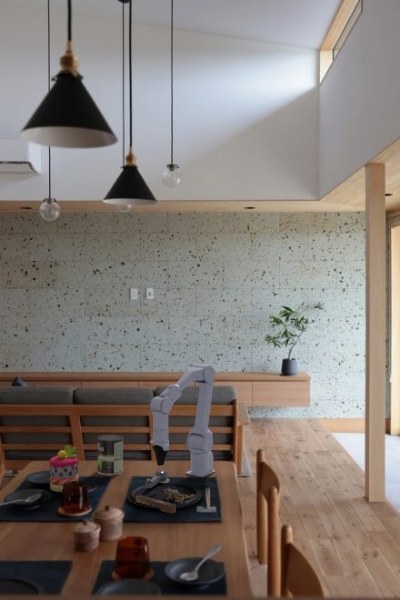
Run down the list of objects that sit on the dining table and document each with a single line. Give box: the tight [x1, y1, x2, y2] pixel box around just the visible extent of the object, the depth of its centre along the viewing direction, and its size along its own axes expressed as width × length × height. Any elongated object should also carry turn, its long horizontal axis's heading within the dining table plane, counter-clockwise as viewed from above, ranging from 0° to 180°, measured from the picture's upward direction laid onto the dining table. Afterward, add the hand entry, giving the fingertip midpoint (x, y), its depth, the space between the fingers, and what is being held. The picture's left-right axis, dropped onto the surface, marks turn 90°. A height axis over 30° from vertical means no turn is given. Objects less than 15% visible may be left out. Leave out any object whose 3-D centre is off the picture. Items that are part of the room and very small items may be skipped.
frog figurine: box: [163, 487, 196, 502], centre depth 234 cm, size 12×12×4 cm
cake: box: [48, 445, 80, 493], centre depth 246 cm, size 10×11×15 cm
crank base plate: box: [159, 477, 170, 484], centre depth 255 cm, size 6×6×1 cm
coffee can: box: [97, 433, 124, 477], centre depth 266 cm, size 10×10×14 cm
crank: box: [144, 469, 168, 489], centre depth 250 cm, size 14×4×4 cm, turn 159°
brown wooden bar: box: [135, 494, 177, 515], centre depth 226 cm, size 2×16×2 cm, turn 54°
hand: (160, 465), depth 247 cm, fingers closed
